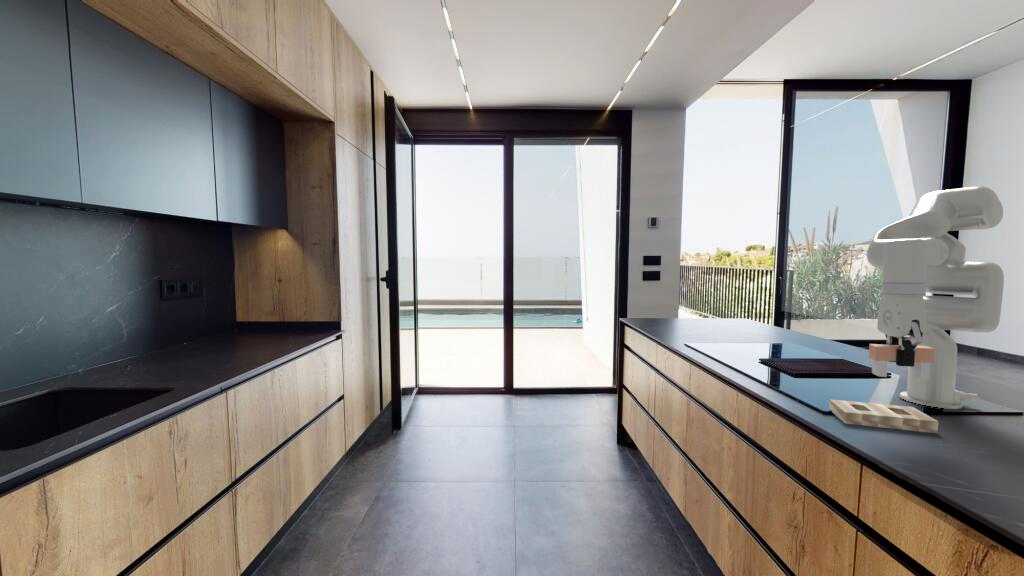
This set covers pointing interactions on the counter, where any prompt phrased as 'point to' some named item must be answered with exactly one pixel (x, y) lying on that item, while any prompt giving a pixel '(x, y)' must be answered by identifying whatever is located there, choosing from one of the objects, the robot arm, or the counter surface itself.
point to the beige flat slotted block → (883, 416)
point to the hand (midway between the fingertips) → (900, 363)
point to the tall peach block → (888, 353)
